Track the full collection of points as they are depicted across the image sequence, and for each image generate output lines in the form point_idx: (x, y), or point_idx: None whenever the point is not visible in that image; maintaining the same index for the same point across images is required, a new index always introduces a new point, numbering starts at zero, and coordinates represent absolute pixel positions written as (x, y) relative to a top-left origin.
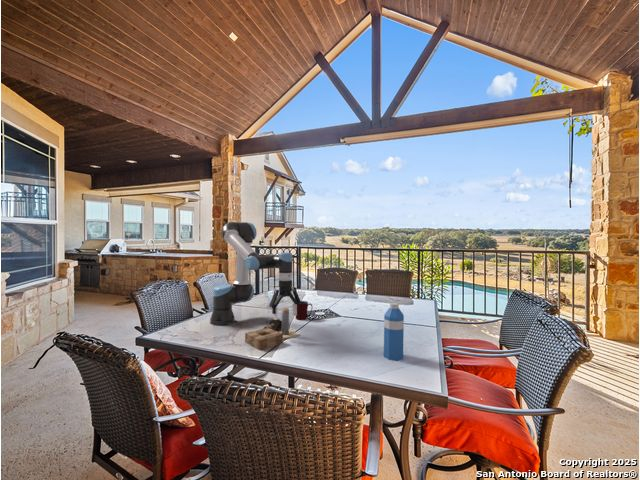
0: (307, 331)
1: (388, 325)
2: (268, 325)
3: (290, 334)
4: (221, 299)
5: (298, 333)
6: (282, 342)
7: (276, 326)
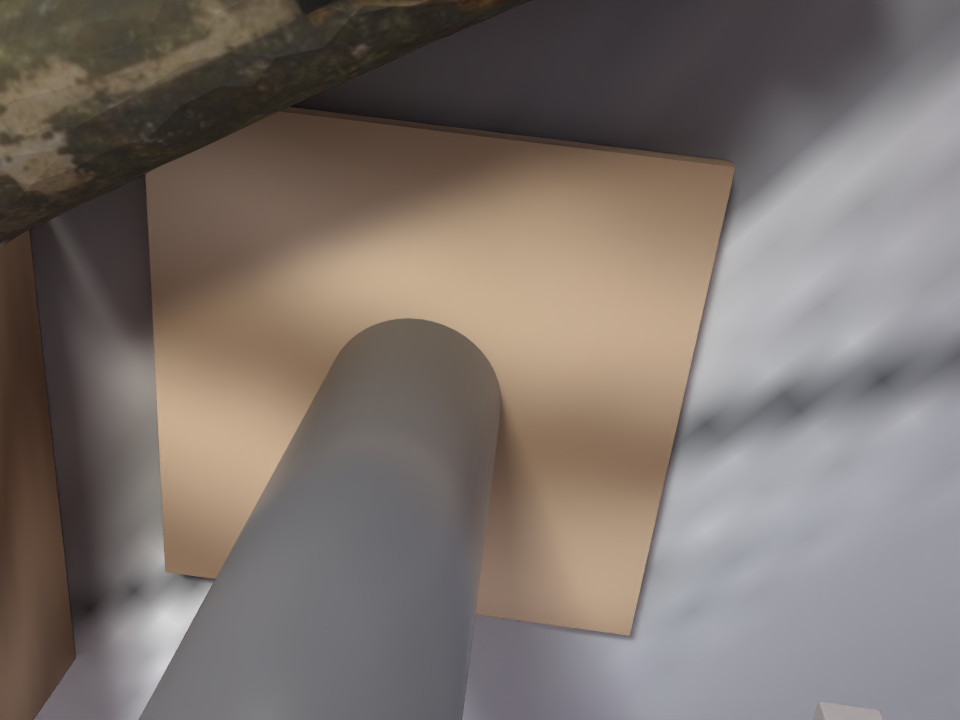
0: (937, 595)
1: None
2: (2, 39)
3: None
4: None
5: (635, 595)
6: (61, 668)
7: (387, 62)
